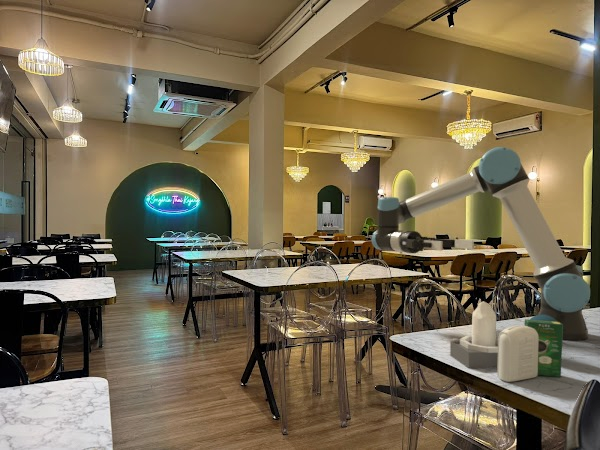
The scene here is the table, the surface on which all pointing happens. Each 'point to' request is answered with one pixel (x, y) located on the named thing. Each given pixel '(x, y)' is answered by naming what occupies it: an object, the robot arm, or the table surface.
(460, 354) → the octagonal hole block
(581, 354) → the table surface
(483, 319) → the cream tapered cylinder
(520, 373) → the photo printer
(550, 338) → the coffee box
